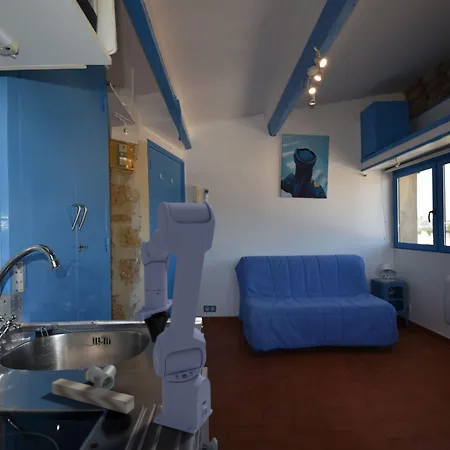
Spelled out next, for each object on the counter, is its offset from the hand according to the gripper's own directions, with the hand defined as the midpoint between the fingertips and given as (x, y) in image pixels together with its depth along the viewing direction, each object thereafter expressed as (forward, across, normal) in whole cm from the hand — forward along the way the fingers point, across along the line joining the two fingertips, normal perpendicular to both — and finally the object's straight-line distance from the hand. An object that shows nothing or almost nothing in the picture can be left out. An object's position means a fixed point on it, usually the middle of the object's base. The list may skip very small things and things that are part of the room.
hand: (156, 341), depth 84 cm
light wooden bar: (+9, +13, -8) cm, 18 cm away
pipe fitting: (+10, +6, -11) cm, 16 cm away
